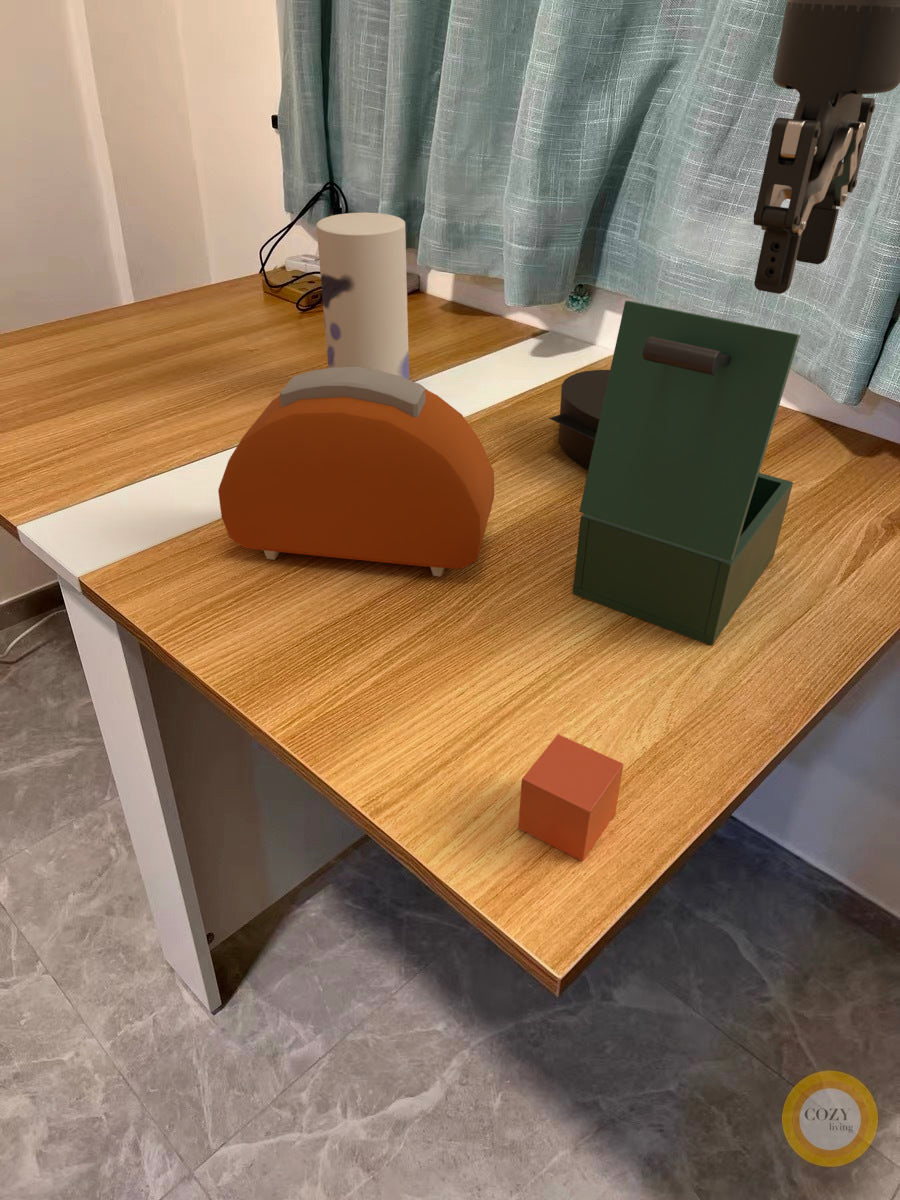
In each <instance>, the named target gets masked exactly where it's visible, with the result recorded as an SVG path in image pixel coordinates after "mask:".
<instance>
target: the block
mask: <svg viewBox="0 0 900 1200" xmlns="http://www.w3.org/2000/svg"><path fill="white" fill-rule="evenodd" d="M623 770H624V763H622V762H621V761H619V760H616V759H614V758H612V757H610V756H608V755H605V754H603V753H601V752H599V751H596V750H594V749H592V748H590V747H587V746H585V745H584V744H581V743H579V742H577V741H574V740H572V739H570V738H568V737H565V736H563V735H562V734H559V733H558V734H557V735H556V736H555V737H554V738H553V740H551V742H550V743H549V744H548V746H547V747H546V748H545V749H544V751H542V753H541V754H540V756H539V757H538V758H537V760H535V762H534V763H533V764H532V766H530V768H529V769H528V770H527V772H526V773H525V774H524V775H523V776H522V778H521V785H520V797H519V798H520V799H519V809H518V810H519V812H518V823H517V824H518V825H517V826H518V827H517V829H519V830H521V831H523V832H525V833H527V834H528V835H531V836H532V837H534V838H536V839H538V840H540V841H542V842H544V843H546V844H548V845H550V846H552V847H554V848H556V849H557V850H559V851H561V852H563V853H565V854H567V855H569V856H571V857H573V858H575V859H576V860H579V861H581V862H584V861H585V859H586V858H587V856H588V855H589V853H590V852H591V850H592V849H593V847H594V845H596V843H597V841H598V840H599V838H600V836H601V835H602V834H603V832H604V831H605V830H606V828H607V826H608V825H609V823H610V822H611V821H612V819H613V817H614V816H615V815H616V810H617V805H618V799H619V795H620V794H619V793H620V787H621V782H622V778H623V777H622V776H623Z"/></svg>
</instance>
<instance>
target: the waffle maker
mask: <svg viewBox="0 0 900 1200" xmlns="http://www.w3.org/2000/svg"><path fill="white" fill-rule="evenodd" d="M609 373H610V369H593V370H585V371H581V372H576V373H574V374H572V375H569V376H568V377H567V378H565V379H564V380H563V382H562V383H561V390H560V391H561V392H560V405H559V414H557V415H554V416H552V417H549V418H548V420H550V421H553V422H555V423H557V424H558V435H557V436H558V439H557V440H558V441H557V442H558V445H559V447H560V450H561V451H562V452H563V453H564V455H565V456H566V457H567V458H568V459H570V460H571V461H572V462H573V463H575V464H576V465H578V466H579V467H581V468H583V470H586V471H588V469H589V465H590V460H591V455H592V451H593V446H594V442H595V437H596V433H597V428H598V423H599V419H600V414H601V410H602V405H603V401H604V396H605V391H606V387H607V382H608V378H609Z"/></svg>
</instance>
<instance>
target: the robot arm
mask: <svg viewBox="0 0 900 1200" xmlns="http://www.w3.org/2000/svg"><path fill="white" fill-rule="evenodd" d="M781 25H782V26H781V30H780V35H779V40H778V45H777V52H776V57H775V62H774V66H773V67H774V68H773V72H772V80H773V82H774V83H775V85H776V86H778V87H780V88H781V89H782V88H783V89H787V90H796V92H798V94H799V97H798V99H799V100H798V102H797V104H796V106H795V111H794V113H793V117H792V118H789V117H788V118H787V117H777V118H776V119H775V121H774V124H773V125H772V126H771V135H770V140H769V144H768V149H767V155H766V159H765V163H764V168H763V171H762V172H763V173H762V178H761V183H760V187H759V191H758V198H757V201H756V206H755V211H754V212H753V225H754V226H758V227H760V229H761V230H762V231H764V233H763V236H762V237H763V238H762V243H761V247H760V253H759V258H758V263H757V268H756V271H755V277H754V283H753V285H754V287H755V289H756V290H758V291H761V292H766V293H772V294H778V295H781V294H784V293H785V292H787V291H788V290H789V289H790V287H791V285H792V282H793V281H792V279H793V276H794V271H795V267H796V262H799V263H800V262H801V263H807V264H813V265H821V264H823V263H824V262H825V261H826V260H827V259H828V257H829V253H830V250H831V245H832V241H833V236H834V232H835V229H836V225H837V221H838V216H839V212H840V208H842V207H843V206H844V205H845V203H846V202H847V200H848V197H849V194H851V193H853V191H854V189H855V188H856V187H857V183H858V175H859V171H860V166H861V162H862V158H863V154H864V149H865V145H866V141H867V137H868V133H869V129H870V125H871V120H872V116H873V114H874V111H875V108H876V104H875V102H876V98H875V97H864V96H863V95H874V94H884V93H888V92H891V91H893V90H894V89H896V88H897V87H898V86H899V85H900V0H786V4H785V9H784V14H783V19H782V24H781ZM848 193H849V194H848ZM786 200H789V204H788V207H782V204H783V202H784V201H786ZM837 207H838V208H837ZM839 207H840V208H839Z"/></svg>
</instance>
